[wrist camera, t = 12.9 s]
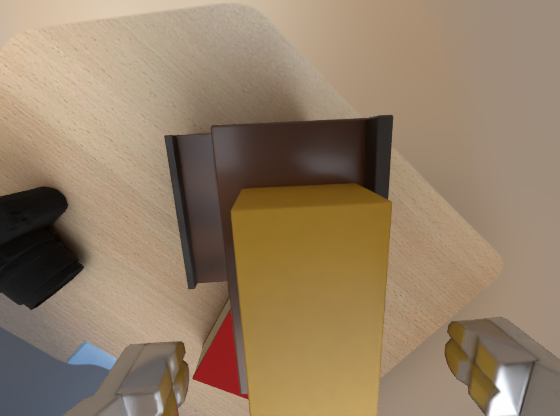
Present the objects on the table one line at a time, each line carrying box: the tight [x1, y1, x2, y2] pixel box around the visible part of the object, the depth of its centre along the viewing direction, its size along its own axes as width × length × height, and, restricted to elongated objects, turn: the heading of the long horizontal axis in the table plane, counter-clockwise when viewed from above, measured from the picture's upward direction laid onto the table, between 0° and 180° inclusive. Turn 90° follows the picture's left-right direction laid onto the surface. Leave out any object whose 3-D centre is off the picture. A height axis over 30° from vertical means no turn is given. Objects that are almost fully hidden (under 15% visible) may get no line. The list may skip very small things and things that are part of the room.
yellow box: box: [231, 183, 392, 416], centre depth 11 cm, size 5×9×4 cm, turn 2°
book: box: [192, 298, 249, 399], centre depth 32 cm, size 18×13×5 cm
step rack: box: [164, 134, 228, 289], centre depth 22 cm, size 14×13×17 cm
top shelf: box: [210, 115, 393, 394], centre depth 12 cm, size 14×7×2 cm, turn 3°
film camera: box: [0, 187, 84, 310], centre depth 26 cm, size 15×10×9 cm, turn 131°
